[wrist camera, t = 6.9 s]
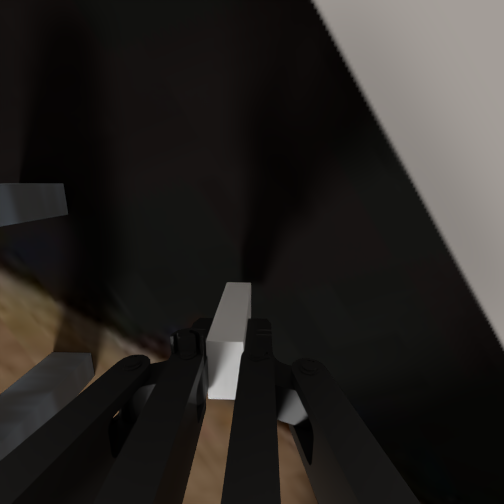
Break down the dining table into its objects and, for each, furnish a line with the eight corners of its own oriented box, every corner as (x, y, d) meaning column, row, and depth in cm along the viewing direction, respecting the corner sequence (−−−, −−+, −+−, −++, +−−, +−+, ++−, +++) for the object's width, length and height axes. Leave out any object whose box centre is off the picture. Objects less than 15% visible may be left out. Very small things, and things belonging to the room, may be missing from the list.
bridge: (63, 183, 18) (-133, 186, 9) (94, 375, 22) (-24, 512, 13) (18, 183, 18) (-218, 186, 9) (56, 374, 22) (-87, 509, 13)
